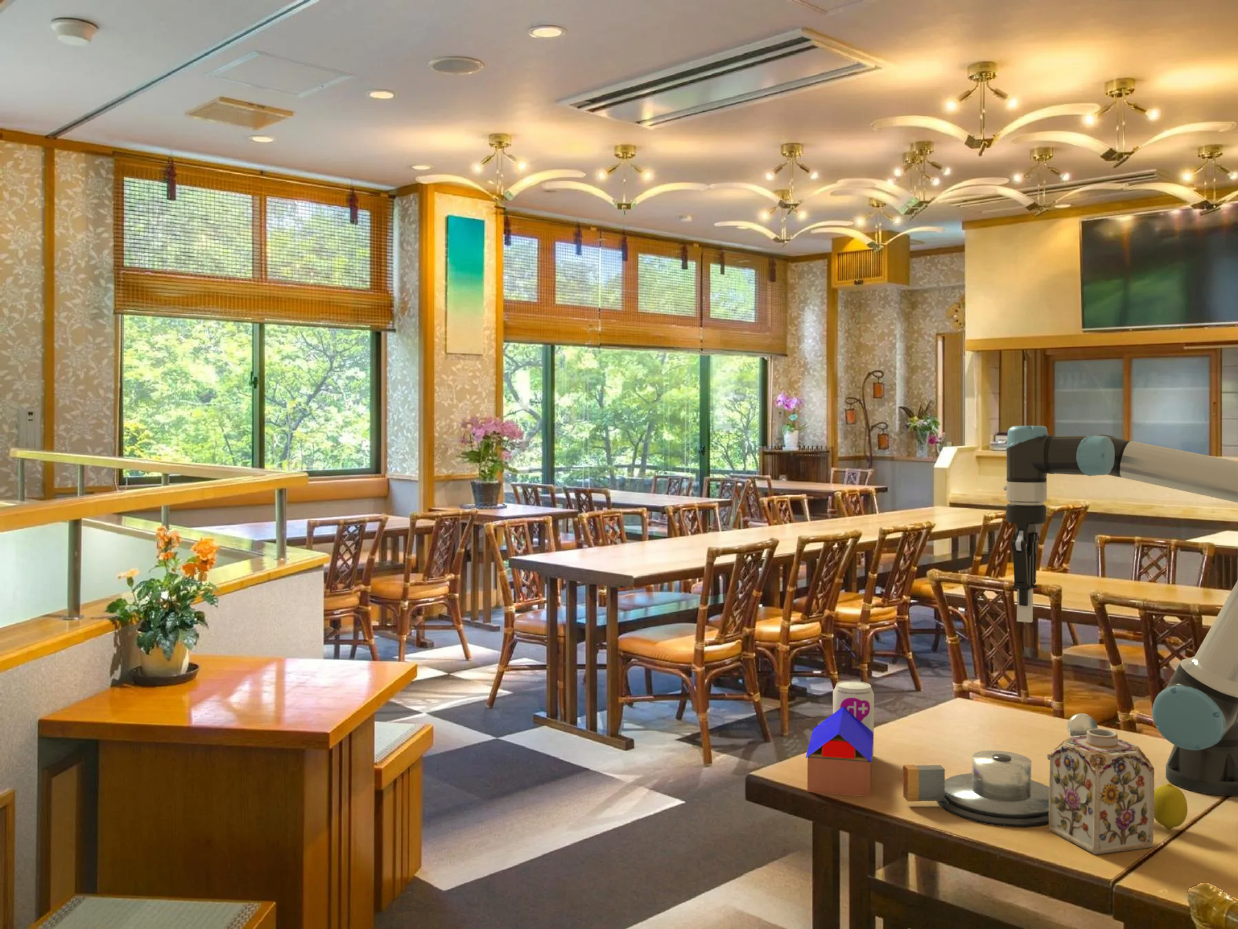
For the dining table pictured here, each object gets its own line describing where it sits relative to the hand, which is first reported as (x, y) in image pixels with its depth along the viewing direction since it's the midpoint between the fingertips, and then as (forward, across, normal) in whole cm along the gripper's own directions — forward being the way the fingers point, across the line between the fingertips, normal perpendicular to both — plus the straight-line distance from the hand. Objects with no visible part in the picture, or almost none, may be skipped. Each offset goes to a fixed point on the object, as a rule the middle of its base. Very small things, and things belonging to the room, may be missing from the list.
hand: (1024, 621), depth 215 cm
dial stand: (+29, +15, +12) cm, 35 cm away
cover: (+27, +25, +2) cm, 37 cm away
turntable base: (+29, +25, +2) cm, 38 cm away
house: (+30, +26, -28) cm, 49 cm away
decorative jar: (+30, +32, +20) cm, 48 cm away
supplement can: (+30, +13, -31) cm, 45 cm away
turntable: (+28, +27, -1) cm, 39 cm away
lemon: (+30, +21, +29) cm, 46 cm away
